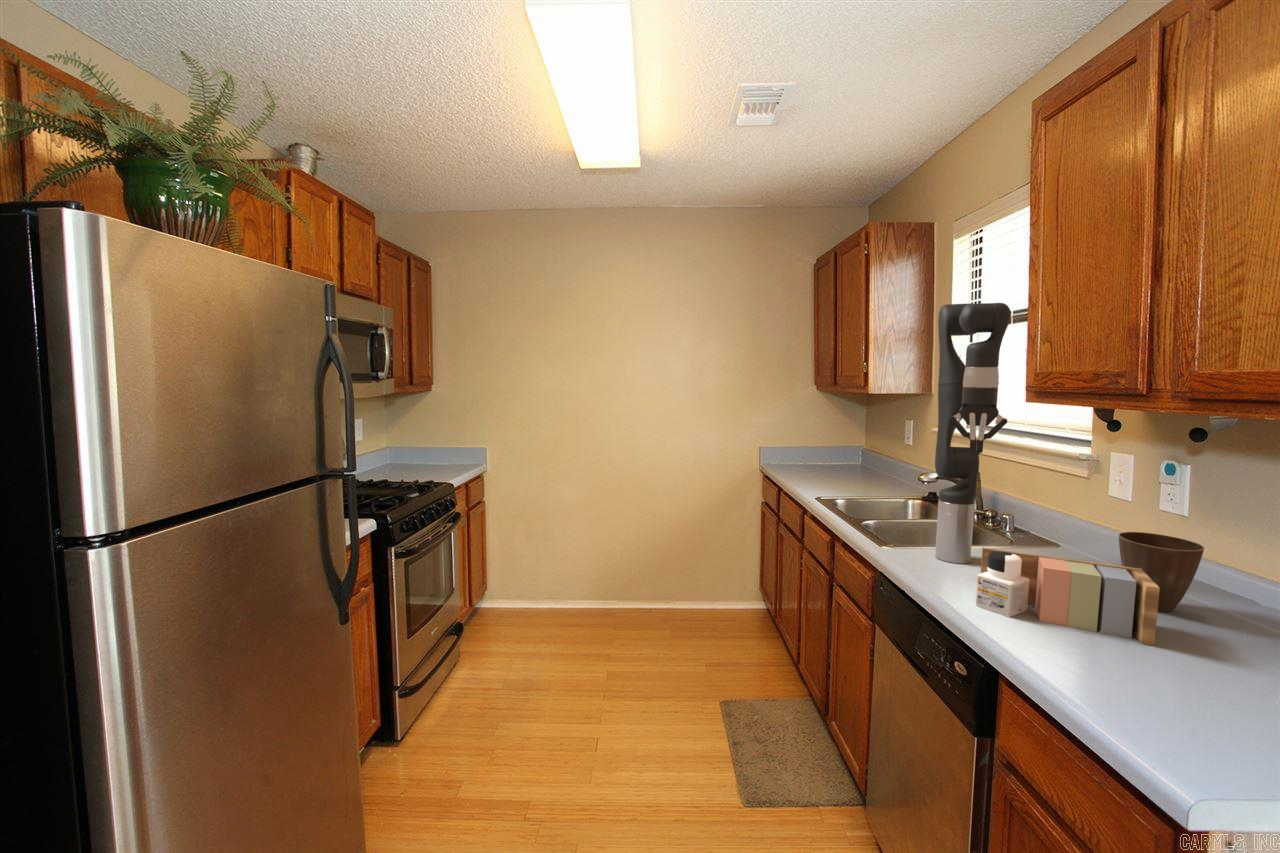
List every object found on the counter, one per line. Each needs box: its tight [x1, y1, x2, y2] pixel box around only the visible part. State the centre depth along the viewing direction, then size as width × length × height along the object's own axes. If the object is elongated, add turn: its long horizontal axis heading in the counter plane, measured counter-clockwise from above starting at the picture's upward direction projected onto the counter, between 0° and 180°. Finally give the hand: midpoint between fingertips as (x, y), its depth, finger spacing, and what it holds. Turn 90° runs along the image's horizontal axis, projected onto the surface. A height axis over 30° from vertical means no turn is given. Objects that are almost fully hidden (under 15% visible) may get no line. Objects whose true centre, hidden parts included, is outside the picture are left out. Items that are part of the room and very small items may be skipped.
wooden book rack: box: [980, 547, 1160, 647], centre depth 128 cm, size 14×30×12 cm, turn 61°
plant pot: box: [1118, 531, 1205, 613], centre depth 136 cm, size 15×15×16 cm
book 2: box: [1066, 561, 1101, 632], centre depth 127 cm, size 9×5×12 cm, turn 151°
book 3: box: [1096, 565, 1136, 639], centre depth 124 cm, size 9×5×12 cm, turn 151°
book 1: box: [1034, 557, 1072, 627], centre depth 130 cm, size 9×5×12 cm, turn 151°
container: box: [975, 551, 1030, 618], centre depth 133 cm, size 8×8×13 cm
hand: (975, 454), depth 145 cm, fingers closed
